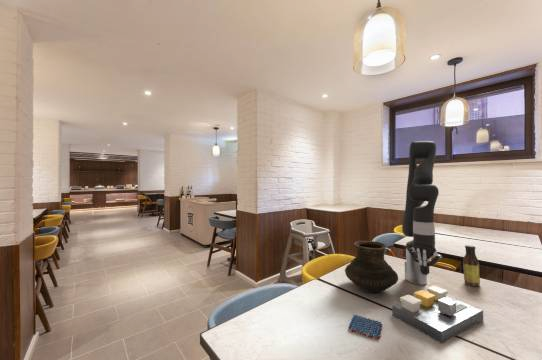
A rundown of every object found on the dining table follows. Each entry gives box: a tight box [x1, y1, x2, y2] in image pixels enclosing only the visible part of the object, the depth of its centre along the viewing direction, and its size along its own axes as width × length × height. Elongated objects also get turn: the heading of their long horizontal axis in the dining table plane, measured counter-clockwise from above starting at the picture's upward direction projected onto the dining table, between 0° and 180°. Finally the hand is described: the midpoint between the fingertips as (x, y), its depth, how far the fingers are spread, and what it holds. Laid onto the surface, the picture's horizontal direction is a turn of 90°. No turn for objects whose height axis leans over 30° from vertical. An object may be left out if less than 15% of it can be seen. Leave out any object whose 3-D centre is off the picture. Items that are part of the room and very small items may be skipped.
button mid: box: [413, 289, 436, 307], centre depth 94 cm, size 5×5×6 cm
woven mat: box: [347, 314, 383, 341], centre depth 84 cm, size 10×11×2 cm
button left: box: [399, 294, 422, 313], centre depth 90 cm, size 5×5×6 cm
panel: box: [391, 291, 484, 344], centre depth 90 cm, size 18×28×4 cm, turn 116°
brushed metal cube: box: [438, 298, 456, 316], centre depth 86 cm, size 4×4×4 cm
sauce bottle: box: [462, 244, 481, 287], centre depth 119 cm, size 7×6×20 cm
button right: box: [426, 285, 449, 300], centre depth 98 cm, size 5×5×6 cm
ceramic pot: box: [344, 240, 399, 294], centre depth 114 cm, size 24×24×22 cm
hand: (424, 274), depth 94 cm, fingers closed
